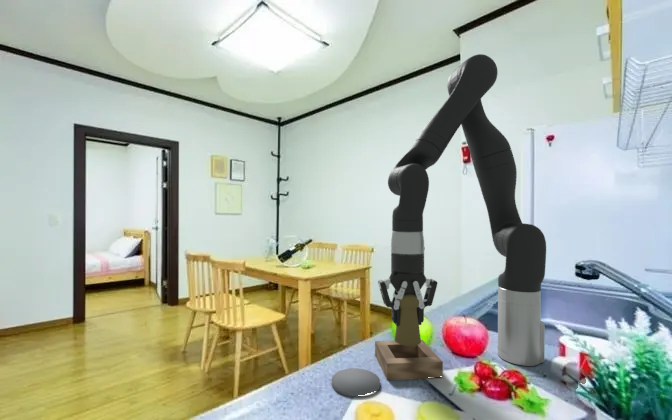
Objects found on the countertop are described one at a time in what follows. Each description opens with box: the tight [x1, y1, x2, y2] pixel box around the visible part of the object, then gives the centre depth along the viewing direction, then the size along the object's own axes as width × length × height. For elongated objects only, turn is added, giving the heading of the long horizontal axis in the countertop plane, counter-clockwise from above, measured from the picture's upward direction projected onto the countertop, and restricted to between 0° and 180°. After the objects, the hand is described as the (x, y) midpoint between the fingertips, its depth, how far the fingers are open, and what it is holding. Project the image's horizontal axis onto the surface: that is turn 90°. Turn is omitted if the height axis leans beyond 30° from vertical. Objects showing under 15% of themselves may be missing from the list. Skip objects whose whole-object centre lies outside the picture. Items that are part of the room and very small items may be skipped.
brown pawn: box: [394, 294, 422, 346], centre depth 76 cm, size 6×6×11 cm
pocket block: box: [374, 339, 444, 381], centre depth 76 cm, size 12×12×4 cm
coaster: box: [331, 367, 381, 398], centre depth 68 cm, size 10×10×1 cm
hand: (407, 323), depth 76 cm, fingers closed on brown pawn, 4 cm apart
